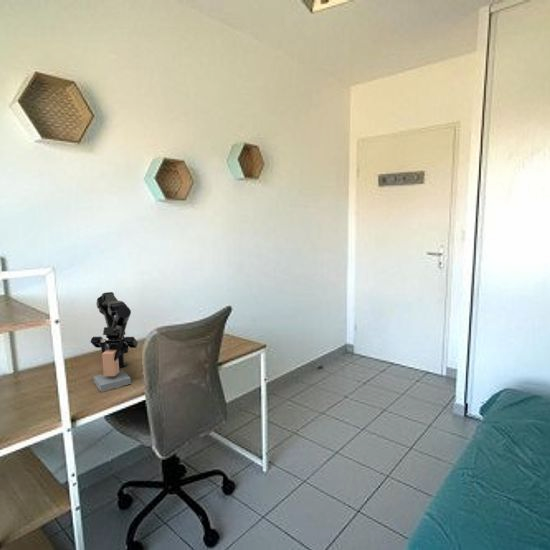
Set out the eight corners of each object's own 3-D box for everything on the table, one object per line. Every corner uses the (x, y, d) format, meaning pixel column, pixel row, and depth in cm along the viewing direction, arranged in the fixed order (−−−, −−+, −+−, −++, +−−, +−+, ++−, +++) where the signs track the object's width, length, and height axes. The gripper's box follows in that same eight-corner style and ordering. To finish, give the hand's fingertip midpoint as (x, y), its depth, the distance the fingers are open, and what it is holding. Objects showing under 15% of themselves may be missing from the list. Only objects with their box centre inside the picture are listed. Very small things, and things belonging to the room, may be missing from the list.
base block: (94, 382, 167) (93, 376, 167) (122, 375, 174) (122, 369, 174) (101, 392, 158) (100, 385, 157) (131, 384, 165) (130, 377, 164)
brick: (103, 376, 163) (102, 353, 162) (108, 371, 168) (107, 349, 166) (114, 376, 163) (112, 353, 162) (119, 371, 168) (117, 349, 166)
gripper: (90, 318, 166) (79, 352, 157) (133, 318, 166) (123, 352, 156) (101, 331, 175) (90, 363, 166) (141, 331, 174) (133, 363, 165)
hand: (109, 360), depth 163 cm, fingers closed on brick, 5 cm apart
